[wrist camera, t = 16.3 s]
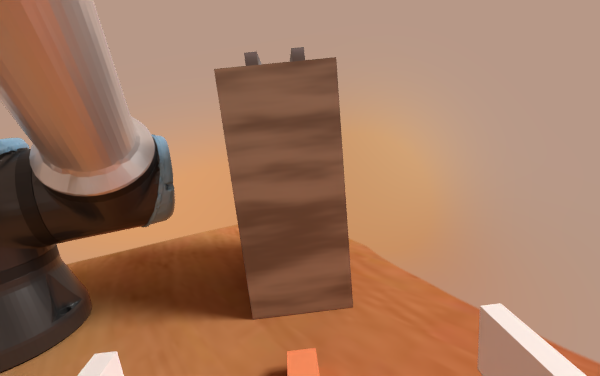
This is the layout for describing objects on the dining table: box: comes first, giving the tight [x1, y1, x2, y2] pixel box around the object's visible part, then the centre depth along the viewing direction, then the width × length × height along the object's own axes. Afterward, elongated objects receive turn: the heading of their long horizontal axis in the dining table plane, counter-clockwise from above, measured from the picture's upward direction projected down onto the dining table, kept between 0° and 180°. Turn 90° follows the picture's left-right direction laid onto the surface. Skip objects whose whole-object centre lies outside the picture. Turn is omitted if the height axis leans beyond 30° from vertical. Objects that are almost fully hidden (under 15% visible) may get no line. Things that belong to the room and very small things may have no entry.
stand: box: [214, 47, 353, 319], centre depth 41 cm, size 18×12×30 cm, turn 3°
